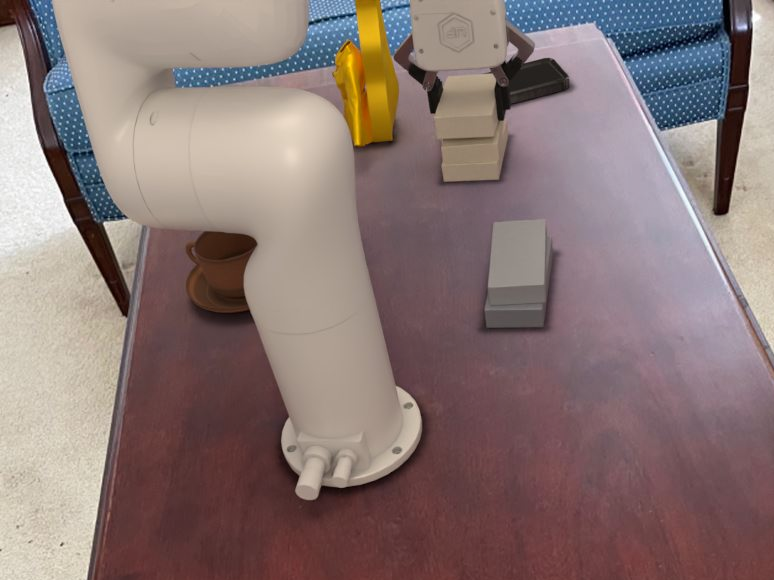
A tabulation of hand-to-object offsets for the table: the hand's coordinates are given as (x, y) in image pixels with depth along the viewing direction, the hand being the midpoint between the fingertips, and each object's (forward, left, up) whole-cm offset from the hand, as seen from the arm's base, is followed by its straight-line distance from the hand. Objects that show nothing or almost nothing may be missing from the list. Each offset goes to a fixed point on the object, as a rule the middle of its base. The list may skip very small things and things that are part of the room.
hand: (471, 115), depth 110 cm
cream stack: (0, 0, -5) cm, 5 cm away
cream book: (0, 0, 0) cm, 0 cm away
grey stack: (-26, -8, -5) cm, 28 cm away
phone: (+17, -2, -5) cm, 18 cm away
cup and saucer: (-25, +22, -6) cm, 34 cm away
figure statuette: (+7, +14, -6) cm, 17 cm away
